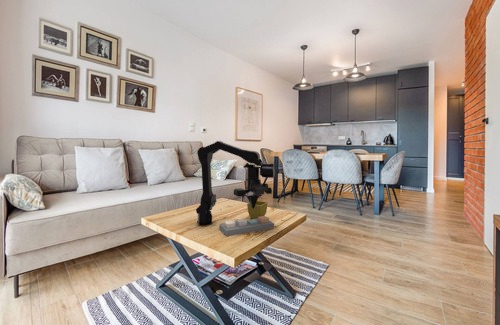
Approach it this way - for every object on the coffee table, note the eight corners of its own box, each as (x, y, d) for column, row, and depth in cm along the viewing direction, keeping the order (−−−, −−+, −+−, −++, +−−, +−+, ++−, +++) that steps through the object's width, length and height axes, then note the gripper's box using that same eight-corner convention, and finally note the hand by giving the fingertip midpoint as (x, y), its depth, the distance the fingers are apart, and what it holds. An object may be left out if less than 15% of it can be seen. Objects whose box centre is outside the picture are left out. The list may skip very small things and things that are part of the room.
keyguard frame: (226, 236, 101) (226, 230, 101) (219, 228, 110) (219, 223, 110) (274, 228, 112) (274, 223, 112) (264, 222, 121) (264, 217, 121)
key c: (250, 229, 110) (250, 223, 110) (247, 226, 113) (247, 220, 113) (257, 228, 112) (258, 222, 111) (254, 225, 115) (254, 219, 115)
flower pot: (260, 222, 121) (260, 205, 121) (246, 219, 126) (246, 203, 125) (267, 217, 129) (268, 202, 128) (254, 215, 133) (254, 200, 133)
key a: (227, 230, 104) (227, 224, 104) (224, 227, 108) (224, 221, 108) (235, 229, 106) (235, 222, 106) (232, 226, 110) (232, 220, 110)
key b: (239, 228, 107) (239, 222, 107) (236, 225, 111) (236, 219, 110) (246, 227, 109) (247, 221, 109) (243, 224, 112) (243, 218, 112)
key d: (261, 225, 112) (261, 219, 112) (257, 222, 116) (257, 216, 116) (268, 224, 114) (268, 218, 114) (264, 221, 118) (264, 215, 117)
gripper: (242, 180, 100) (242, 215, 101) (278, 178, 108) (277, 210, 109) (233, 177, 109) (233, 209, 110) (266, 175, 118) (266, 205, 119)
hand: (252, 208), depth 112 cm, fingers closed
